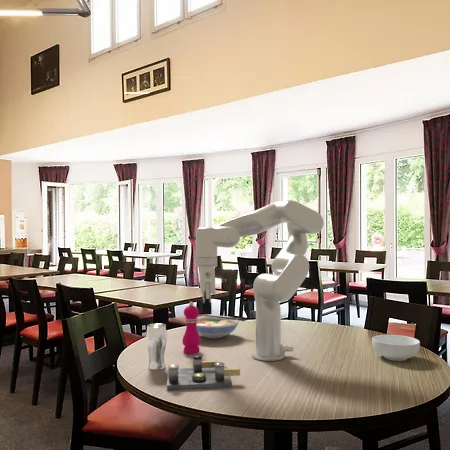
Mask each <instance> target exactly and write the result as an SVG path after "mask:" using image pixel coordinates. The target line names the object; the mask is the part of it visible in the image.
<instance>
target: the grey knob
mask: <svg viewBox="0 0 450 450" xmlns="http://www.w3.org/2000/svg"><path fill="white" fill-rule="evenodd" d="M214 366H215V379H218V380H221V379H224V376H230V377H236V376H238V377H240V376H241V368H240V367H232V368H231V367H229V368H227V369H224V367H225V362H223V361H217V362H216V363H214Z"/></svg>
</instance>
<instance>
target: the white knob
mask: <svg viewBox="0 0 450 450" xmlns="http://www.w3.org/2000/svg"><path fill="white" fill-rule="evenodd" d="M167 367H168V369H169V381H171V382H175V381H178V368H180V366H179V364H177V363H170V364H169V365H167Z"/></svg>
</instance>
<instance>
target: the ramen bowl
mask: <svg viewBox="0 0 450 450" xmlns="http://www.w3.org/2000/svg"><path fill="white" fill-rule="evenodd" d="M197 318H198V319H197V320H198V321H197V324H196V326H197V331H198V333H199V336H202V337H205V338H207V339H211V340H218V339H219V340H220V339H221V338H223V337H225V336H226V337H227V336H228V335H230V334H232V333H233V332H234V331H235V330H236V328H237V327H238V325H239V323H240V322H246V321H248V319H247V318H241V317H233V316H226V315H212V314H209V315H203V314H202V316H197Z"/></svg>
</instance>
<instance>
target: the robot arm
mask: <svg viewBox="0 0 450 450" xmlns="http://www.w3.org/2000/svg"><path fill="white" fill-rule="evenodd" d="M285 223H286V227H287V231H288V232H287V233H288V239H287V241H286V243H285V244H284V246H283V247H282V248H281V249H280V251H279V253H277V255H276V256H275V258H274V259H273V261H272V263H271V270H272V273H261V274H259V275H257V276H256V278H255V279H254V281H253V284H252V289H253V295H254V296H253V297H254V302H255V350H253V351H252V353H251V356H252V358H254V359H255V360H258V361H265V362H274V361H281V360H283V359H285V357H286V352H294V346H292V345H291V346H289V345H283V344H282V330H281V329H282V326H281V325H282V322H281V321H282V318H281V316H282V315H281V314H282V312H281V311H282V310H281V305H280V302H281V303H284V302H287V301H289V300H290V299H291V298H292V297H293V296H294V295H295V294H296V293H297V290H298V289H299V288H300V287H301V285H302V284H303V282H304V281H305V280H306V278H307V277H308V274H309V271H310V263H309V260H308V258H307V257H306V256H305V255H306V253H307V251H308V246H309V245H308V244H309V243H308V238H307V234H309V235H315V234H317V233H320V232H321V231H322V229H323V228H324V219H323V217H322V215H321V214H320V213H319V212H318V211H316V210H314V209H312V208H311V207H308V206H306V205H304V204H302V203H300V202H298V201H295V200H292V199H290V200H278V201H275V202H272V203H269V204H267V205H265V206H263V207H261V208H259V209H256V210H253V211H251V212H249V213H246V214H242V215H241V216H238V217H234V218H232V219H229V220H226V221H224V222H222V223H220V224H217V225H215V226H213V227H211V226H210V227H209V226H208V227H207V226H205V227H204V226H203V227H197V228H196V230H195V267H197V268H198V269H199V270H198V271H199V276H198V277H199V288H200V293H201V295H202V303H201V308H202V309H201V313H202V314H201V315H202V316H203V315H212V311H213V310H212V309H213V308H212V295H213V296H216V274H215V273H216V271H215V268H217V267H218V248H226V249H227V248H233V247H235V246H237V245H238V244H239V242H240V240H241V237H245V236H254V235H258V234H259V235H260V234H261V233H264V232H266V231H267V230H270V229H272V228H274V227H276V226H278V225H280V224H285Z"/></svg>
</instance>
